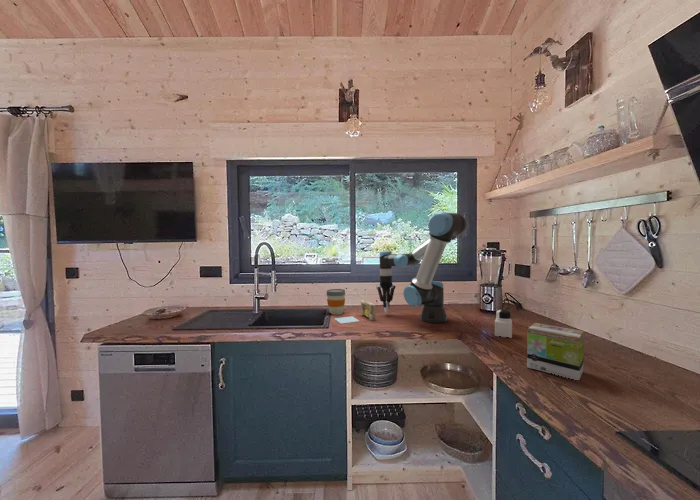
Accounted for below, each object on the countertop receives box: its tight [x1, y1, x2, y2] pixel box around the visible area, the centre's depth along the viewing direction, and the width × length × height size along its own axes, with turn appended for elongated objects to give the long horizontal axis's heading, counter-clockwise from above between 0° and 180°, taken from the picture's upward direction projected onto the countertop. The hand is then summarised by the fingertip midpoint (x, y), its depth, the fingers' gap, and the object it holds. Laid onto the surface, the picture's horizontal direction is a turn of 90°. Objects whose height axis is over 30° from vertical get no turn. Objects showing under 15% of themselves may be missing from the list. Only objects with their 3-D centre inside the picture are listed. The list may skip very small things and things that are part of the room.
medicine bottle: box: [494, 309, 513, 339], centre depth 139 cm, size 7×7×12 cm
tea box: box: [526, 322, 585, 381], centre depth 100 cm, size 15×10×15 cm, turn 45°
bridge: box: [360, 300, 376, 321], centre depth 177 cm, size 3×14×9 cm, turn 21°
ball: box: [365, 307, 369, 318], centre depth 177 cm, size 6×6×6 cm
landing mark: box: [333, 316, 360, 325], centre depth 172 cm, size 12×12×1 cm
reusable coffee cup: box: [326, 288, 346, 315], centre depth 190 cm, size 13×13×15 cm
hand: (386, 312), depth 181 cm, fingers closed
